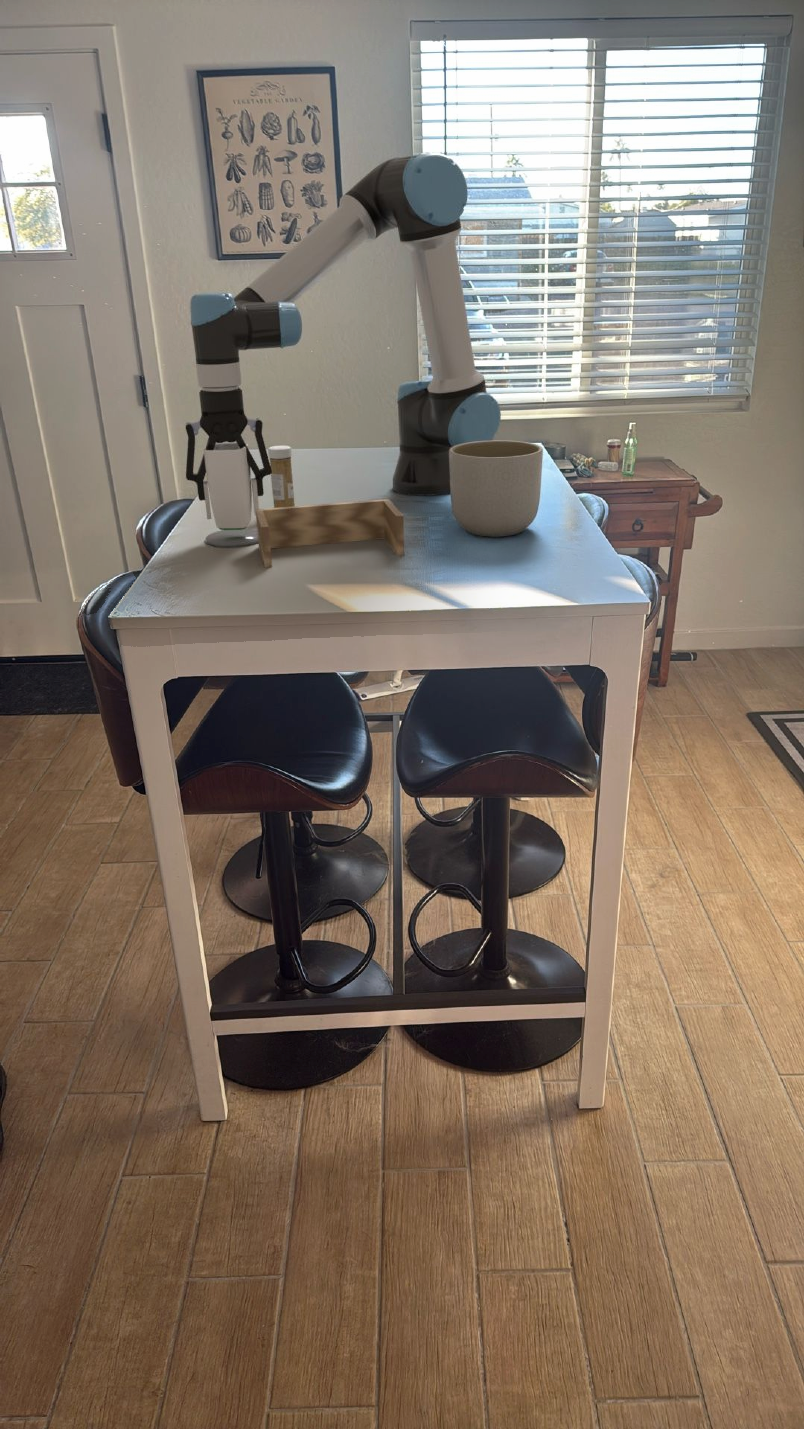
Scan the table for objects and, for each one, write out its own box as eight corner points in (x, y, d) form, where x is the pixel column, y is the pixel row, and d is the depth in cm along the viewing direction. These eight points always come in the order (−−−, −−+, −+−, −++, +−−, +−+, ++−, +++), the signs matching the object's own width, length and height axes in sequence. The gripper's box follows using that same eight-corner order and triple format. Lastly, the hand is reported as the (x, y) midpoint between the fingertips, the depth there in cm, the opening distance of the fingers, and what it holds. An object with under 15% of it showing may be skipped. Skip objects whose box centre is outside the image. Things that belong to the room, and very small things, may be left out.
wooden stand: (389, 536, 186) (388, 499, 183) (404, 555, 174) (403, 515, 171) (258, 547, 181) (255, 509, 178) (264, 567, 170) (261, 527, 167)
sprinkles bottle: (299, 514, 203) (294, 447, 197) (279, 517, 201) (274, 450, 195) (289, 509, 207) (284, 443, 201) (269, 513, 204) (264, 446, 199)
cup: (210, 532, 183) (201, 450, 176) (219, 522, 189) (211, 443, 183) (249, 532, 182) (241, 450, 176) (257, 522, 189) (250, 442, 183)
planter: (548, 522, 192) (551, 441, 185) (529, 545, 177) (531, 459, 171) (463, 517, 197) (463, 438, 191) (438, 539, 183) (437, 455, 176)
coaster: (262, 529, 193) (262, 526, 192) (267, 544, 183) (267, 541, 183) (205, 534, 191) (204, 531, 190) (207, 549, 181) (206, 546, 181)
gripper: (277, 382, 180) (287, 506, 190) (159, 388, 177) (175, 515, 186) (281, 387, 174) (291, 515, 183) (159, 394, 170) (176, 524, 180)
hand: (233, 515), depth 185 cm, fingers closed on cup, 8 cm apart
